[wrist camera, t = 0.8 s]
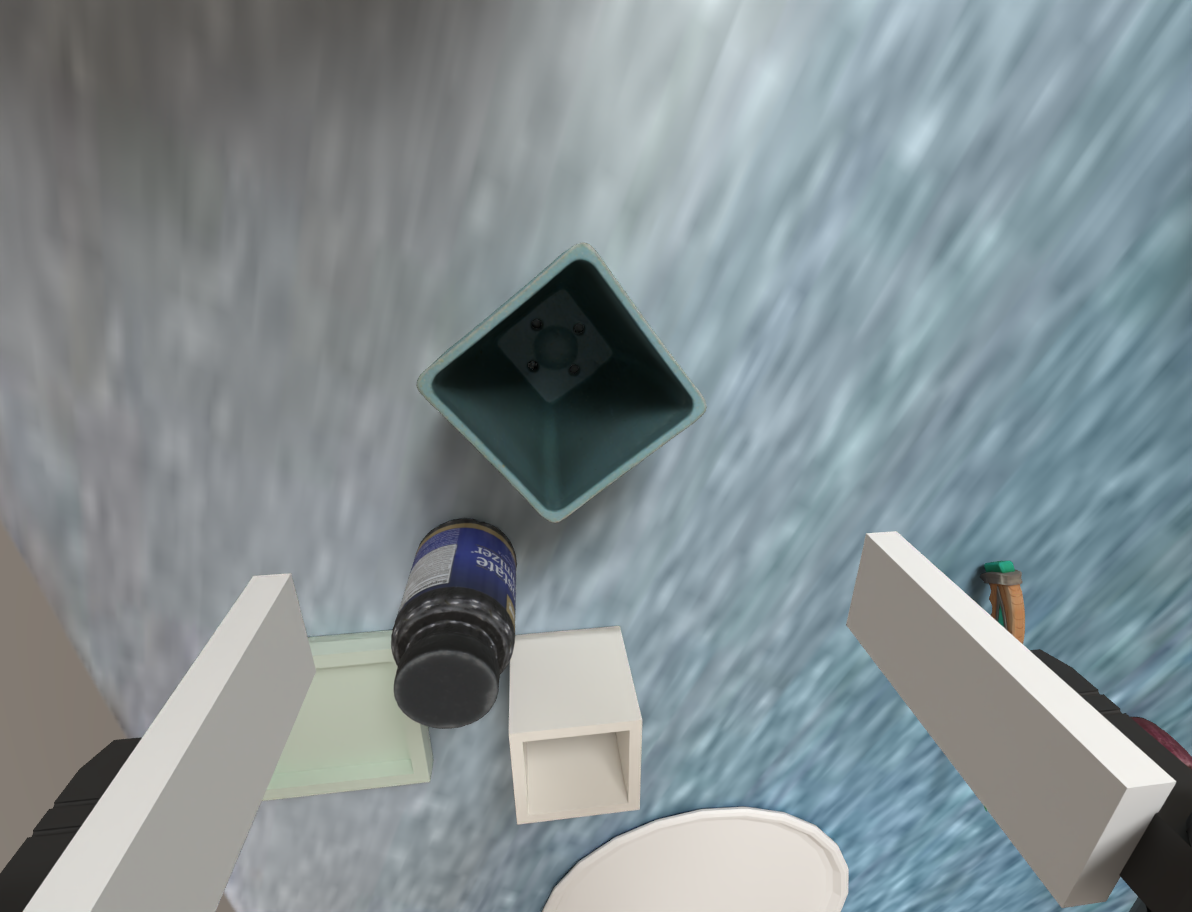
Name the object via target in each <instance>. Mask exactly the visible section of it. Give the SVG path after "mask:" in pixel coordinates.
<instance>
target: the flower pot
mask: <svg viewBox="0 0 1192 912" xmlns="http://www.w3.org/2000/svg"><path fill="white" fill-rule="evenodd" d="M534 319H539V320H540V321H541V324H542V325H541V327H540V328H537V329H536V328H534V327H533V326H532V321H533V320H534ZM578 323H581V324H583V326H584V330H583V332H581V333H576V332H575V331H574V326H575V325H576V324H578ZM530 361H535V362H537V368H536V369H534V370H532V369H530V368H529V367H528V363H529V362H530ZM574 364H575V365H577V366H578V367H579V369H578V371H577V372H576V373H571V372H570V370H569V369H570V366H571V365H574ZM417 388H418V390H419V392H420V393H421V394H422V395H423V396H424V397H425V399H426V400H427V401H428V402H429V403H430V404H431V405H432V406H433V407H434V408H436V409H437V410H438V411H439V412H440V413H441V414H442V415H443V416H444V417H445V418H446V419H447V420H448V421H449V422H450V423H451V424H452V425H453V426H454V427H455V428H456V429H457V430H458V431H459V432H460V433H461V434H462V435H463V436H464V437H465V438H466V439H467V440H468V441H469V442H470V443H471V444H472V445H473V446H474V447H475V448H476V449H477V450H478V451H479V452H480V453H481V454H482V455H483V456H484V457H485V458H486V459H487V460H488V461H489V462H490V463H491V464H492V465H493V466H494V467H495V468H496V469H497V470H498V471H499V472H500V473H501V474H502V475H503V476H504V477H505V478H506V479H507V480H508V481H509V482H510V483H511V485H512V486H513V487H515V489H516V490H517V491H518V492H519V493H520V494H521V495H522V496H523V497H524V498H525V499H526V500H527V501H528V502H529V503H530V504H531V506H532V507H533V508H534V509H535V510H536V511H537V512H538V513H539V514H540V515H541V516H542V517H543V518H545V519H546V520H547V521H549V522H551V523H558V522H560V521H562V520H563V519H565V518H567V517H568V516H570V515H571V514H572V513H573V512H574V511H576V510H577V509H578V508H580V507H581V506H583V505H584V504H585V503H586V502H587V501H589V500H590V499H592V498H593V497H594V496H595V495H597V494H598V493H599V492H601V491H602V490H604V489H605V488H606V487H607V486H609V485H610V484H612V483H613V482H614V481H616V480H617V479H618V478H619V477H621V476H622V475H623V474H625V473H626V472H628V471H629V470H631V469H632V468H633V467H634V466H636V465H637V464H639V463H640V462H641V461H643V460H644V459H645V458H646V457H648V456H649V455H650V454H652V453H653V452H655V451H656V450H658V449H659V448H660V447H662V446H663V445H664V444H666V443H667V442H668V441H670V440H671V439H672V438H674V437H675V436H676V435H678V434H679V433H681V432H682V431H684V430H685V429H686V428H688V427H689V426H690V425H692V424H693V423H694V422H696V421H697V420H698V419H699V418H700V417H701V416H702V415H703V414H704V413H705V411H706V408H707V405H706V402H705V399H704V398H703V396H702V395H701V393H700V392H699V390H698V389H697V388H696V387H695V386H694V384H693V383H692V381H691V380H690V379H689V378H688V376H687V375H686V374H685V372H684V371H683V369H682V368H681V367H680V366H679V365H678V363H677V362H676V361H675V359H674V358H673V356H672V355H671V354H670V353H669V351H668V350H667V349H666V347H665V346H664V344H663V343H662V342H661V341H660V339H659V338H658V337H657V335H656V334H655V332H654V331H653V330H652V328H651V327H650V326H649V324H648V323H647V321H646V320H645V319H644V317H643V316H642V314H641V313H640V311H639V310H638V309H637V308H636V306H635V305H634V303H633V302H632V300H631V299H630V298H629V296H628V295H627V294H626V292H625V291H624V290H623V288H622V287H621V285H620V284H619V282H618V281H617V280H616V278H615V277H614V276H613V274H612V273H611V271H610V270H609V268H608V267H607V266H606V265H605V263H604V261H603V260H602V258H601V257H600V256H599V254H598V253H597V252H596V250H595V249H594V248H593V247H592V246H591V245H589V244H587V243H579V244H576V245H575V246H573V247H571V248H570V249H568V250H567V251H565V252H564V253H562V254H561V255H560V256H559V257H558V258H557V259H556V260H554V261H553V262H552V263H551V264H550V265H549V266H548V267H546V268H545V269H544V270H543V271H542V272H541V273H539V274H538V275H537V276H536V277H535V278H534V279H533V280H531V281H530V282H529V283H528V284H527V285H526V286H524V287H523V288H522V289H521V290H520V291H519V292H517V293H516V294H515V295H514V296H513V297H511V298H510V299H509V300H508V301H507V302H506V303H504V304H503V305H502V306H501V307H500V308H498V309H497V310H496V311H495V312H494V313H492V314H491V315H490V316H489V317H488V318H486V319H485V320H484V321H483V322H481V323H480V324H479V325H478V326H477V327H475V328H474V329H473V330H472V331H470V332H469V333H468V334H467V335H466V336H464V337H463V338H462V339H461V340H459V341H458V342H457V343H455V344H454V345H453V346H452V347H450V348H449V349H448V350H447V351H446V352H445V353H444V354H443V355H441V356H440V357H439V358H438V359H437V360H436V361H435V362H434V363H433V364H432V365H431V366H430V367H428V368H427V369H426V370H425V371H424V372H423V373H422V374H421V375H420V376H419V378H418V380H417Z"/></svg>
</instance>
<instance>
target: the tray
mask: <svg viewBox="0 0 1192 912" xmlns="http://www.w3.org/2000/svg"><path fill="white" fill-rule="evenodd" d="M392 631H393V630H386V631H374V632H362V633H351V634H339V635H327V636H316V637H308V641H309V645H310V649H311V653H312V657H313V660H314V664H315V668H316V673H315V675H314V678H313V680H312V683H311V685H310V687H309V690H308V692H307V694H306V697H305V699H304V702H303V704H302V706H301V709H300V711H299V714H298V716H297V718H296V721H295V723H294V725H293V728H292V730H291V733H290V735H289V737H288V740H287V742H286V745H285V747H284V749H283V752H282V754H281V756H280V759H279V761H278V764H277V766H276V768H275V771H274V773H273V776H272V778H271V780H270V783H269V785H268V787H267V790H266V792H265V795H264V797H263V799H262V801H267V800H275V799H284V798H293V797H302V796H311V795H319V794H328V793H337V792H346V791H354V790H363V789H372V788H381V787H390V786H398V785H407V784H416V783H425V782H430V779H431V773H432V766H433V754H432V748H431V742H430V736H429V730H428V726H425V725H422V724H420V723H417V722H415V721H413V720H412V719H410V718H409V717H408V716H407V715H405V714H404V713H403V712H402V710H401V709H400V708H399V707H398V704H397V702H396V700H395V697H394V680H395V676H396V671H397V667H398V666H397V665H396V662H395V660H394V658H393V654H392V649H391V635H392Z"/></svg>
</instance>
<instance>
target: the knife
mask: <svg viewBox="0 0 1192 912" xmlns="http://www.w3.org/2000/svg"><path fill="white" fill-rule="evenodd" d="M984 567H985V570H986V573H983V574H981V575H980V578H981V579H982V580H983V581H984V583H989V585H990V588H991V594H990V597H989V600H990V602H991V604H992V614H991V615H990V616H991V617H993V618H994V619H995V620H996V621H997V622H998V623H999V624H1000V625H1002V626H1003V627H1004V628H1005V629H1006V630H1007V631H1008V632H1009V633H1011V634H1012V635H1013V636H1014V637H1015V638H1016V639H1017V640H1018V641H1019V642H1021V643H1022V644H1023V641H1024V633H1025V611H1024V602H1023V596H1022V591H1021V588H1020V584H1021V583H1022V579H1021V574H1022V573H1021V572H1020V571H1018V570H1015V569H1014V566H1013V563H1012V562H1011V561H997V562H990V563H985V565H984ZM984 807H985V806H984ZM985 810H986V812H987V809H986V808H985Z"/></svg>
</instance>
